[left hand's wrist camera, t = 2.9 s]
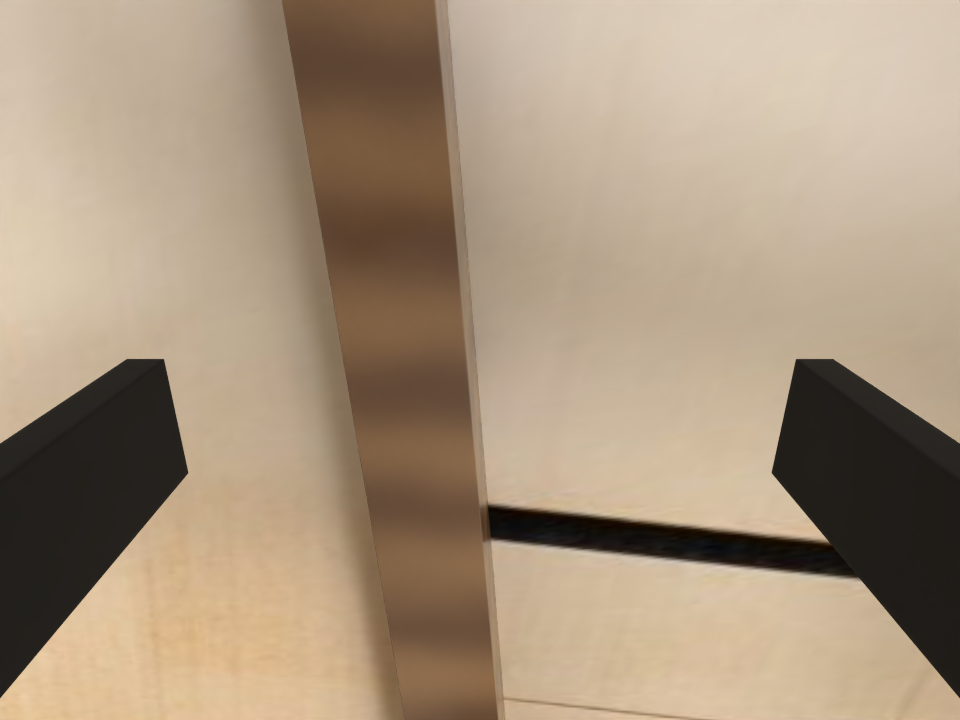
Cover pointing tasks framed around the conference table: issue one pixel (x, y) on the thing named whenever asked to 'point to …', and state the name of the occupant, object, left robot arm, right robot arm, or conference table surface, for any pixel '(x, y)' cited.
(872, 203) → the conference table surface
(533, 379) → the conference table surface
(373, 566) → the conference table surface
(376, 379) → the post
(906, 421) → the left robot arm
